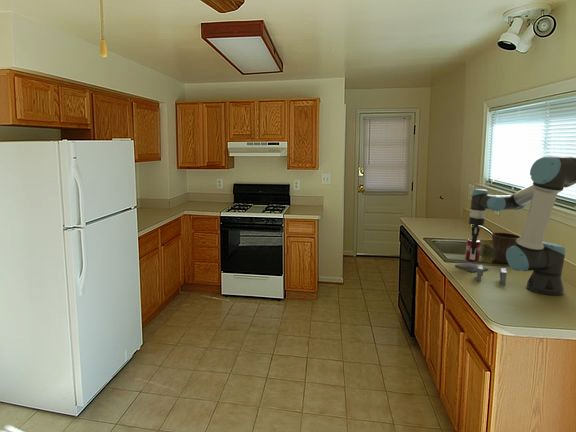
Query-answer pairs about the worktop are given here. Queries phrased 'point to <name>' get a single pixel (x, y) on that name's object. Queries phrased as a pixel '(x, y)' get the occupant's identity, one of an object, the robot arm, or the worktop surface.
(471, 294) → the worktop surface
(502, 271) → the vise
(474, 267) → the rubber mat
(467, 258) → the soda can
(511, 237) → the plant pot
